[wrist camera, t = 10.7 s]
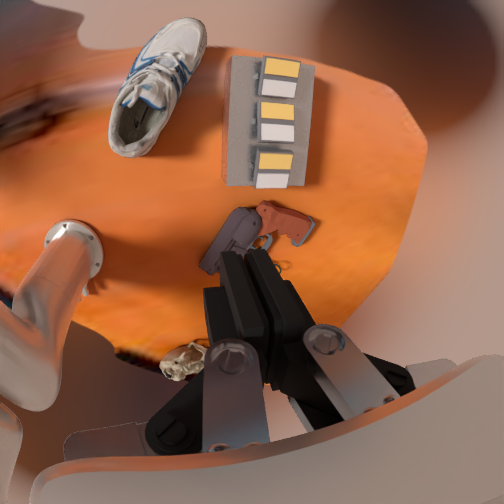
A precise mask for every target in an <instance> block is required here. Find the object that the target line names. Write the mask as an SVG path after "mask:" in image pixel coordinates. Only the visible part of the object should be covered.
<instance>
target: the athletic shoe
mask: <svg viewBox="0 0 504 504" xmlns="http://www.w3.org/2000/svg"><path fill="white" fill-rule="evenodd" d="M206 45H207V33H206V29H205V26H204V24H203V23H202V22H201V21H199V20H197V19H194V18H188V17H186V18H182V19H179V20H176V21H174V22H172V23H170V24H168V25H166V26H165V27H163V28H162V29H161V30H160V31H158V32H157V33H156V35H155V36H154V37H153V38H152V39H151V40H150V41H148V42H147V43H146V44H145V46H144V47H143V49H142V50H141V52H140V53H139V55H138V57H137V58H136V60H135V62H134V63H133V65H132V67H131V69H130V72H129V74H128V77H127V78H126V80H125V82H124V84H123V85H122V87H121V88H120V90H119V92H118V95H117V99H116V101H115V103H114V106H113V109H112V112H111V117H110V122H109V129H108V141H109V144H110V147H111V149H112V150H113V151H114V152H116V153H117V154H119V155H121V156H124V157H129V158H136V157H139V156H143V155H145V154H147V153H148V152H149V151H150V150H151V149H152V146H153V145H154V144H155V143H156V141H157V139H158V137H159V133H160V132H161V130H162V129H163V128H164V127H165V125H166V124H167V122H168V120H169V118H170V116H171V114H172V112H173V109H174V108H175V106H176V104H177V101H178V99H179V97H180V95H181V92H182V90H183V89H184V87H185V86H186V84H187V83H188V82H189V79H190V77H191V76H192V74H193V72H194V71H195V69H196V67H197V66H198V65H199V64H200V62H201V58H202V56H203V55H204V53H205V49H206Z"/></svg>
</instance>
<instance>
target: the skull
mask: <svg viewBox="0 0 504 504" xmlns="http://www.w3.org/2000/svg"><path fill="white" fill-rule="evenodd" d="M207 349H208V348H205V347H203V346H202V345H199V344H196V343H194V341H192V342H191V343H190V344H188V345H187V346H183V347H178V348H175V349H173V350H171V351H169V352H168V353H167V354H166V355H165V357H164V358H163V360H162V361H161V363H160V368H161V370H162V372H163V374H164V375H165V376H166V377H168V378H169V379H173V380H175V381H179V380H181V379H184V378H185V375H187V374H192V373H195V372H197V373H199V372H200V371H201V370H202V369H203V368H204V357H205V353H206V350H207Z"/></svg>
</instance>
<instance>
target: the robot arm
mask: <svg viewBox="0 0 504 504" xmlns="http://www.w3.org/2000/svg"><path fill="white" fill-rule="evenodd" d="M91 235H92V236H91ZM44 248H45V249H44V250H43V252H42V253H41V254H40V256H39V257H38V258H37V260H36V261H35V263H34V264H33V265H32V267H31V268H30V270H29V271H28V273H27V274H26V276H25V277H24V279H23V280H22V282H21V283H20V285H19V286H18V288H17V290H16V292H15V295H14V299H13V306H12V312H11V310H9V309H8V308H7V307H6V306H5V305H4V304H3V303H2V302H1V300H0V394H1V395H2V396H4V397H5V398H7V399H8V400H10V401H11V402H13V403H14V404H16V405H18V406H20V407H22V408H25V409H28V410H31V411H42V410H45V409H47V408H48V407H50V406H51V405H52V404H53V402H54V401H55V399H56V397H57V394H58V392H59V388H60V383H61V373H62V354H63V346H64V342H65V338H66V334H67V331H68V328H69V325H70V322H71V319H72V316H73V314H74V311H75V308H76V306H77V303H78V302H79V301H81V296H80V295H81V293H83V296H88V295H89V291H88V288H87V283H88V281H89V279H91V278H93V277H94V276H95V275H96V274H97V273H98V272H99V270H100V268H101V266H102V263H103V258H104V252H103V247H102V244H101V241H100V239H99V238H98V236H97V234H96V233H95V232H94V231H93V230H92V229H91V228H90V227H89V226H88V225H86V224H84V223H82V222H80V221H77V220H72V219H67V220H62V221H59V222H57V223H56V224H55V225H53V226H52V227H51V229H50V230H49V231H48V233H47V235H46V238H45V244H44ZM203 296H204V309H205V319H206V326H207V332H208V338H209V344H210V346H209V348H208V349H207V350H206V353H205V357H204V368H203V369H202V370H201V371H200V372H199V373H198V374H197V375H196V376H195V377H194V378H193V379H191V380H190V381H189V382H188V384H186V385H185V386H184V387H183V388H182V389H181V390H180V391H179V392H178V393H177V394H176V395H175V396H174V397H173V398H172V399H171V400H170V401H169V402H168V403H167V404H166V405H165V406H163V407H162V408H161V409H160V410H159V411H158V412H157V413H156V414H155V415H154V416H153V417H152V418H151V419H150V420H149V422H146V423H142V424H136V423H135V422H133V423H128V424H123V425H118V426H112V427H106V428H100V429H94V430H86V431H79V432H76V433H72V434H71V435H70V436H69V437H68V438H67V439H66V441H65V443H64V457H65V462H63V463H60V464H56V465H54V466H51V467H49V468H47V469H45V470H44V471H42V472H41V473H40V474H39V475H38V476H37V477H36V479H35V481H34V483H33V486H32V489H31V494H30V501H29V504H504V356H501V355H484V356H479V357H476V358H472V359H470V360H468V361H465V362H464V363H462V364H460V365H458V366H456V364H455V363H453V362H452V361H451V360H448V359H439V360H434V361H429V362H424V363H419V364H412V365H406V367H405V368H403V367H401V366H399V365H397V364H394V363H391V362H388V361H385V360H382V359H379V358H376V357H373V356H370V355H368V354H365V353H362V352H361V350H360V349H359V348H358V347H357V346H356V345H355V344H354V343H353V341H352V340H351V339H350V338H349V337H348V336H347V335H346V333H344V332H343V331H342V330H341V329H339V328H337V327H335V326H332V325H328V324H319V325H316V324H315V322H314V320H313V319H312V317H311V315H310V314H309V312H308V310H307V308H306V307H305V305H304V303H303V302H302V300H301V298H300V297H299V295H298V293H297V292H296V290H295V288H294V287H293V285H292V283H291V282H290V281H289V280H283V279H282V278H281V276H280V274H279V272H278V271H277V269H276V267H275V265H274V264H273V262H272V260H271V258H270V257H269V255H268V253H267V251H266V250H265V249H252V250H250V251H249V254H245V255H244V260H243V258H242V255H241V254H236V252H235V251H223V252H220V287H210V288H203ZM264 382H265V384H268V383H270V385H271V388H272V391H275V390H280V391H281V392H282V393H284V394H286V395H287V398H288V400H289V403H290V405H291V406H292V408H293V409H294V411H295V413H296V414H297V416H298V418H299V419H300V421H301V423H302V424H303V426H304V427H305V429H306V431H307V432H308V433H305V434H302V435H298V436H295V437H291V438H286V439H282V440H278V441H274V442H270V437H269V430H268V423H267V417H266V409H265V402H264V396H263V388H264ZM21 442H22V426H21V424H20V421H19V419H18V418H17V417H16V415H15V414H14V413H13V412H12V411H11V410H10V409H9V408H7V407H6V406H5V405H4V404H2V403H1V402H0V504H8V501H7V492H8V488H9V484H10V480H11V476H12V472H13V469H14V466H15V463H16V459H17V456H18V453H19V450H20V446H21Z"/></svg>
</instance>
